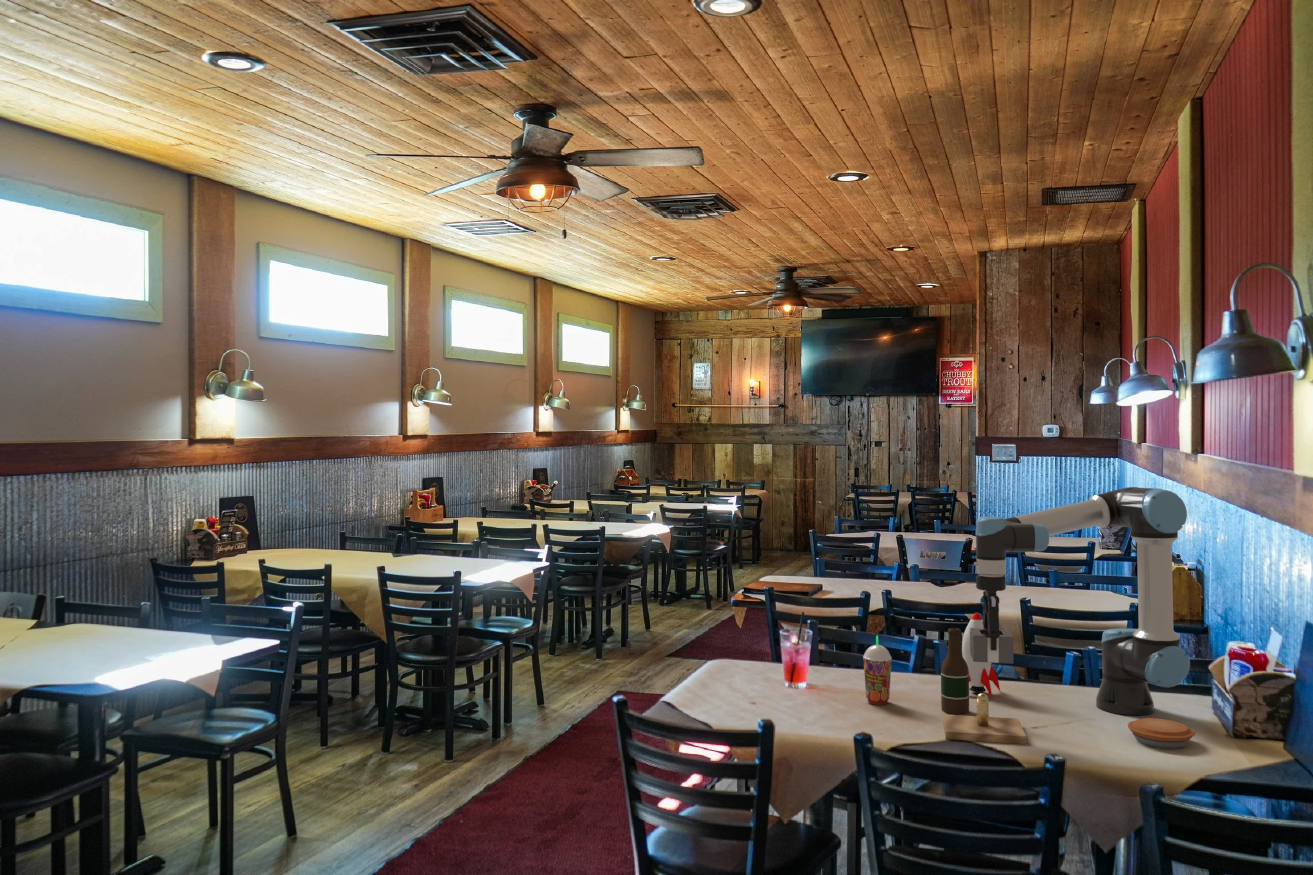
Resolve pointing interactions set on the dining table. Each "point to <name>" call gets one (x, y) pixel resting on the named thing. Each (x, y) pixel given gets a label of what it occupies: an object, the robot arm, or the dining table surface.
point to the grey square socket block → (981, 645)
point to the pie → (1161, 733)
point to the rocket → (977, 670)
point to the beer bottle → (954, 677)
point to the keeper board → (983, 729)
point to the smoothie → (877, 674)
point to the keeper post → (982, 710)
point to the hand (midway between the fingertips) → (990, 657)
